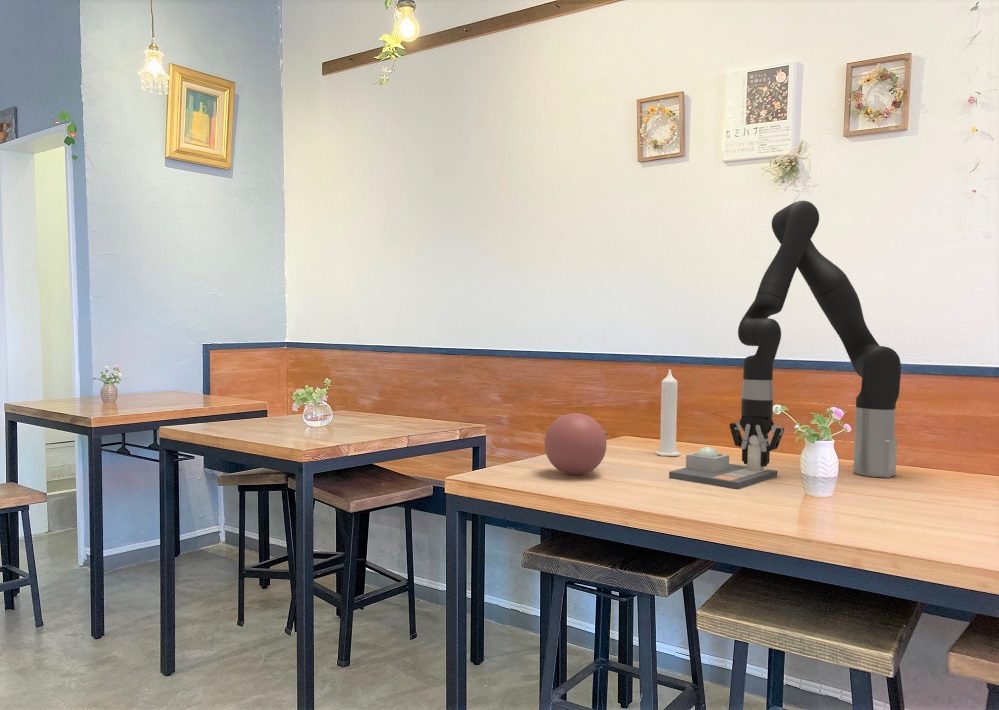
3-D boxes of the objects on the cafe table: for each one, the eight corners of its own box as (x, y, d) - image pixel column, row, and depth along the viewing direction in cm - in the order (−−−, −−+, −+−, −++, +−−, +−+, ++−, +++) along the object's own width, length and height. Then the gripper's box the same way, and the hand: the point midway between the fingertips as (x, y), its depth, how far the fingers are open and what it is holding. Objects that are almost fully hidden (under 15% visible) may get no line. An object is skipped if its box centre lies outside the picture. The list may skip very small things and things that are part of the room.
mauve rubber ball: (630, 474, 191) (632, 413, 191) (575, 483, 178) (576, 418, 178) (586, 464, 203) (587, 407, 202) (531, 473, 190) (532, 412, 190)
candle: (654, 456, 219) (657, 369, 218) (655, 452, 226) (657, 368, 225) (680, 457, 217) (682, 370, 216) (680, 453, 224) (682, 369, 223)
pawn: (766, 469, 192) (767, 433, 191) (758, 471, 189) (760, 434, 189) (751, 467, 195) (753, 431, 194) (743, 468, 192) (745, 432, 192)
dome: (722, 468, 192) (722, 447, 192) (712, 471, 188) (712, 449, 188) (702, 465, 196) (703, 444, 196) (692, 468, 192) (693, 446, 192)
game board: (777, 476, 191) (777, 456, 191) (738, 489, 175) (738, 467, 175) (711, 466, 203) (712, 448, 203) (669, 477, 187) (669, 457, 187)
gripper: (791, 398, 189) (789, 467, 190) (737, 394, 199) (735, 459, 199) (778, 400, 184) (776, 471, 184) (724, 396, 193) (722, 463, 194)
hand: (755, 464), depth 192 cm, fingers closed on pawn, 4 cm apart
